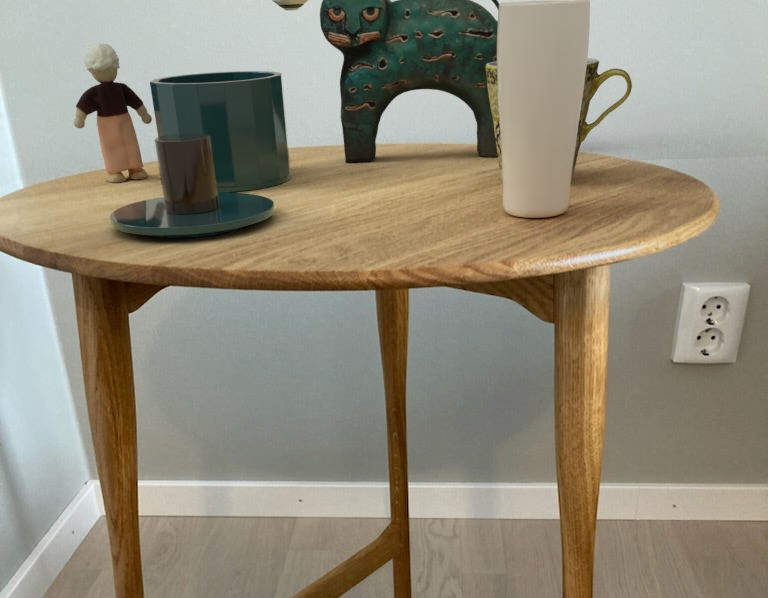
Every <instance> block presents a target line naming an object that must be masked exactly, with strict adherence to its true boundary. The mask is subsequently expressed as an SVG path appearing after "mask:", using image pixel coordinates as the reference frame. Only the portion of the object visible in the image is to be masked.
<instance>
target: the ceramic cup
mask: <svg viewBox="0 0 768 598" xmlns="http://www.w3.org/2000/svg"><path fill="white" fill-rule="evenodd" d="M599 64H600V60H598V59H596V58H590V57H588V58H587V67H586V75H585V83H584V90H583V97H582V104H581V110H580V117H579V124H578V132H577V139H576V146H575V153H574V160H573V168H572V176H571V180H572V179H573V177H574V174H575V169H576V165H577V160H578V155H579V152H580V151H579V150H580V148H581V145H582V143H583V142H585V140H586V138H587V136H588V135H589V133H590V132H591V131H592V130H593V129H594V128H596V127H597V126H599V124H600V123H601V122H602V121H603V120H604V119H605V118H606V117H607V116H608V115H609V114H611V113H612V112H613V111H615V110H617V108H619V107H620V106H621V105H622V104H624V102H626V100H627V99H628V98H629V96H630V94H631V93H632V88H633V82H632V78H631V77H630V75H629V73H628V72H627V71H625V70H624V69H622V68H610V69H607V70H605V71H603V72H601V73H600V74H599V73H598V69H599V66H600V65H599ZM614 76H620V77H621V78H624V80H625V81H626V92H625V93H624V95H623V96H622V97H621V98H620V99H618V100H617V101H616V102H615V103H614V104H612V105H610V106H609V107H608V108H607V109H605V110H604V111H603V112H602V113H601V114H600V115H599V116H598V117H597V119H596V120H594V121H593V122H592V123H588V122H587V121H586V120H587V116H588V113H589V109H590V103H591V100H593V97H594V96H595V94H596V92H597V91H598V90H599V88H600V86H601V85H602V84H603V83H604V82H606V81H607V80H608V79H610V78H611V77H614ZM486 77H487V87H488V94H489V101H490V107H491V112H492V117H493V123H494V132H495V139H496V146H497V153H498V156H497V160H498V169H499V176H500V179H501V182H503V176H502V155H501V137H500V119H499V102H498V84H497V61H495V62H490V63H487V64H486Z"/></svg>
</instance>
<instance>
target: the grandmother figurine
mask: <svg viewBox="0 0 768 598" xmlns="http://www.w3.org/2000/svg"><path fill="white" fill-rule="evenodd" d="M84 66H85V67H86V70H87V71H88V73H90V74H91V76H92V77H93V79H94V80H96V81H97V82H98V83H99V84H95V85H93V86H91V87H89V88H88V89H86V90H85V91H84V92H83V93H82V95H81V96H80V98H79V99H78V101H77V103H76V105H75V107H76V110H75V118H74V119H73V125H74V127H75V128H77V129H83V128H85V124H86V122H85V121H86V120H87V117H88V115H91V114H94V113H96V127H97V133H98V138H99V145H100V150H101V154H102V159H103V162H104V166H105V170H106V175H105V178H104V181H105V182H108V183H122V182H125V181H127V177H125V175H124V174H123V172H125V171H128V177H129V179H131V180H144V179H146V178H147V177H148V172H147V171H146V169H145V168H144V163H143V159H142V158H143V157H142V153H141V149H140V144H139V141H138V137H137V133H136V129H135V126H134V123H133V119H132V116H131V114H130V111H129V108H128V107H130V108H131V109H133V110H134V111H135V112H136V114H137V115H138V116H139V117H140V118H141V119H140V120H141V121H142V123H143V124H145V125H149V124H151V123H152V122H153V117H152V116H151V114H150V113H149V112H148V110H147V107H146V106H145V104H144V101H143V100H142V99H141V98H140V97H139V95H137V93H136V92H135V91H134V89H132V88H131V87H130V86H128V85H127V84H126V83H124V82H117V81H115V80H116V78H117V77H118V69H120V58H119V56H118V54H117V53H116V51H115V49H114V48H113V46H112V45H109V44H108V43H100V42H99V43H97V44H94V45H92V46H91V48H89V49H88V50H87V52H86V54H85V57H84Z"/></svg>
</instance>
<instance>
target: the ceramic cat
mask: <svg viewBox="0 0 768 598" xmlns="http://www.w3.org/2000/svg"><path fill="white" fill-rule="evenodd" d="M491 2H492V3H493V4H494V5H495V7H496V9H497V11H499V4H500V3H499V1H498V0H491ZM319 22H320V23H319V24H320V30H321V32H322V34H323V36H324V38H325V40H326V41H327V42H328V43H329V44H330V45H331V46H332V47H334V48H335V49H337V50H338V51H340V52H341V54H342V56H343V62H342V66H341V71H340V78H339V92H340V123H341V127H342V137H343V138H342V139H343V149H344V158H345V160H344V161H345V163H347V164H348V163H369V162H373V161H375V159H376V154H377V145H376V144H377V141H376V140H377V136H378V131H379V125H380V122H381V118H382V116H383V114H384V112H385V111H386V110H387V108H388V106H389V105H390V104H391V103H392V102H393V100H395V99H396V98H397V97H398V96H400V95H402V94H404V93H408V92H411V91H417V90H418V91H419V90H433V91H441V92H443V93H447V94H449V95H452V96H453V97H456V98H458V99H460V100H461V101H462V102H464V103H465V105H467V106H468V107H469V109H470V110H471V111H472V113H473V116H474V119H475V122H476V150H477V154H478V157H483V158H491V157H492V158H493V157H494V158H495V157H498V153H497V146H496V139H495V132H494V123H493V117H492V112H491V107H490V101H489V94H488V87H487V77H486V64H487V63H490V62H495V61H497V26H498V20H496V18H495V17H494V15H493V14H492V13H491V12H490V11H489V10H487V9H486V8H485V7H484V6H483V5H481V4H480V3H478V2H475V1H474V0H394V1H392V0H322V1H321V4H320V9H319Z"/></svg>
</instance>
